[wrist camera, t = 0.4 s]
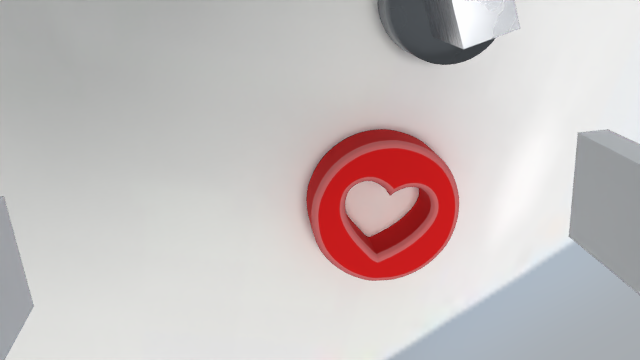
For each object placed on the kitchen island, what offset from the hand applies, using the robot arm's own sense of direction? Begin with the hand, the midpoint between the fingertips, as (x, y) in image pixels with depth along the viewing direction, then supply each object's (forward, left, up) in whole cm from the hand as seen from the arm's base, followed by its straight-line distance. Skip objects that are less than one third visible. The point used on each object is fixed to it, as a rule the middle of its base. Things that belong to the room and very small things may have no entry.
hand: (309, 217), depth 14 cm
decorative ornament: (+12, +1, -25) cm, 28 cm away
